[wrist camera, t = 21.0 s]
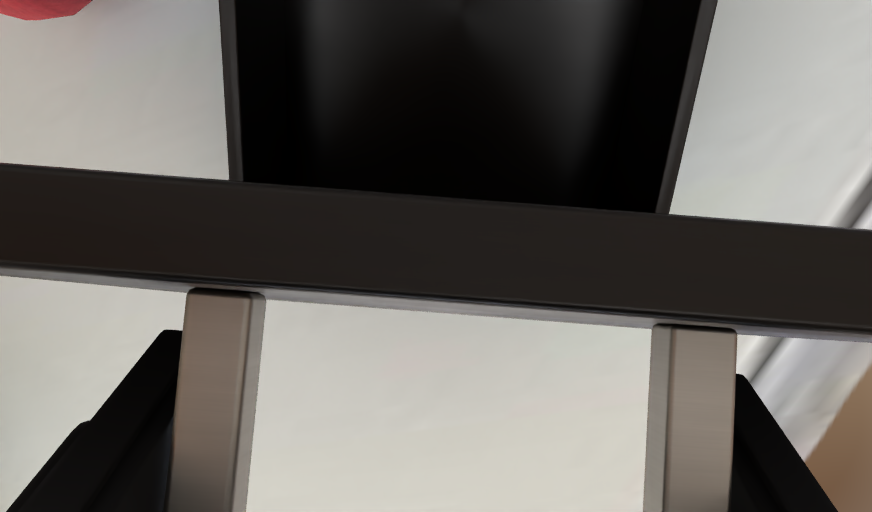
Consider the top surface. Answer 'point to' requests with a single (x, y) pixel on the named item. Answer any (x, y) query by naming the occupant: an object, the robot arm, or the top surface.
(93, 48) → the top surface
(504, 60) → the black shallow rectangular box
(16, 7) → the red round piece
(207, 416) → the lid
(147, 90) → the top surface
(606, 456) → the top surface
